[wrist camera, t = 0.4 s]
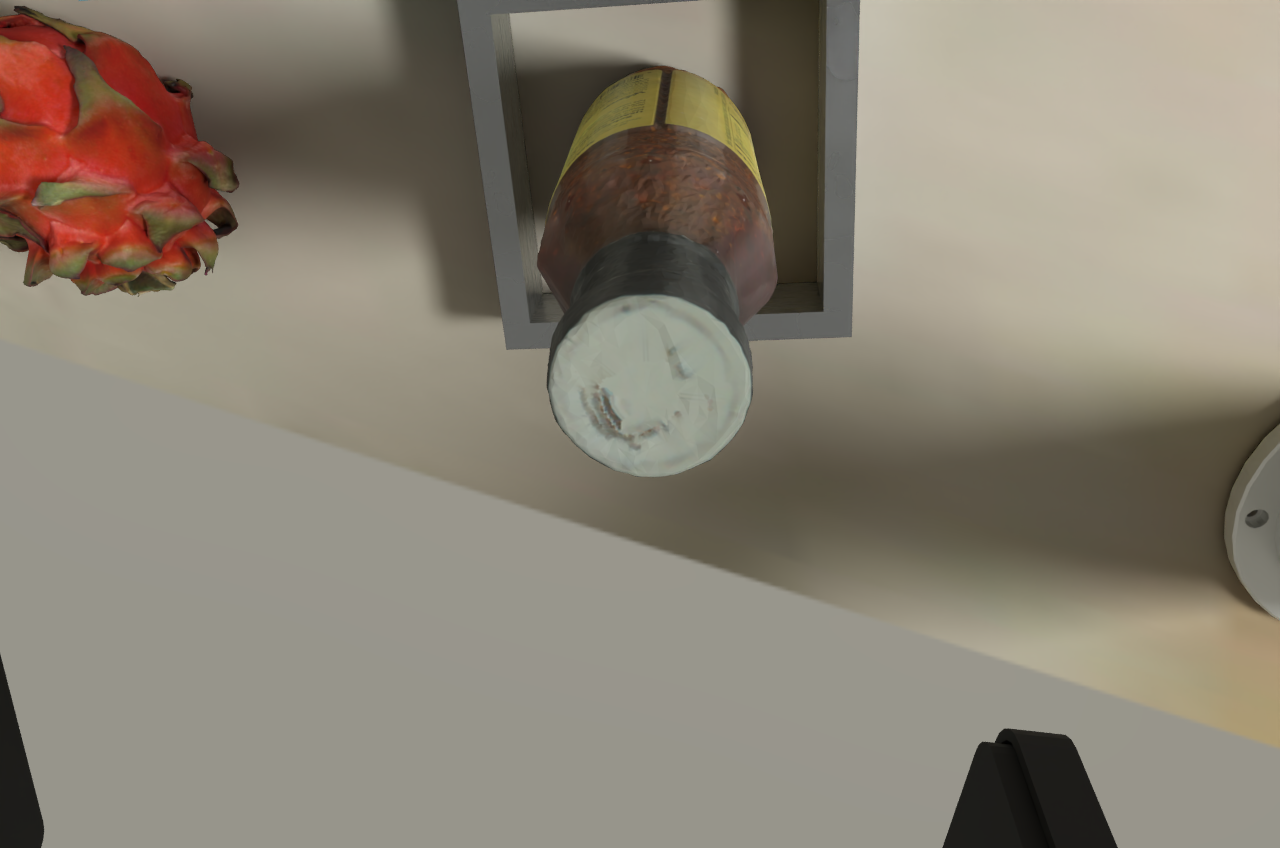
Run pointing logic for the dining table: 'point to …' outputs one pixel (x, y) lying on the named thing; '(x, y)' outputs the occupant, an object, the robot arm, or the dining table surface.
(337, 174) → the dining table surface
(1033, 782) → the robot arm
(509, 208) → the collar
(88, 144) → the dragon fruit
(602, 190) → the sauce bottle
